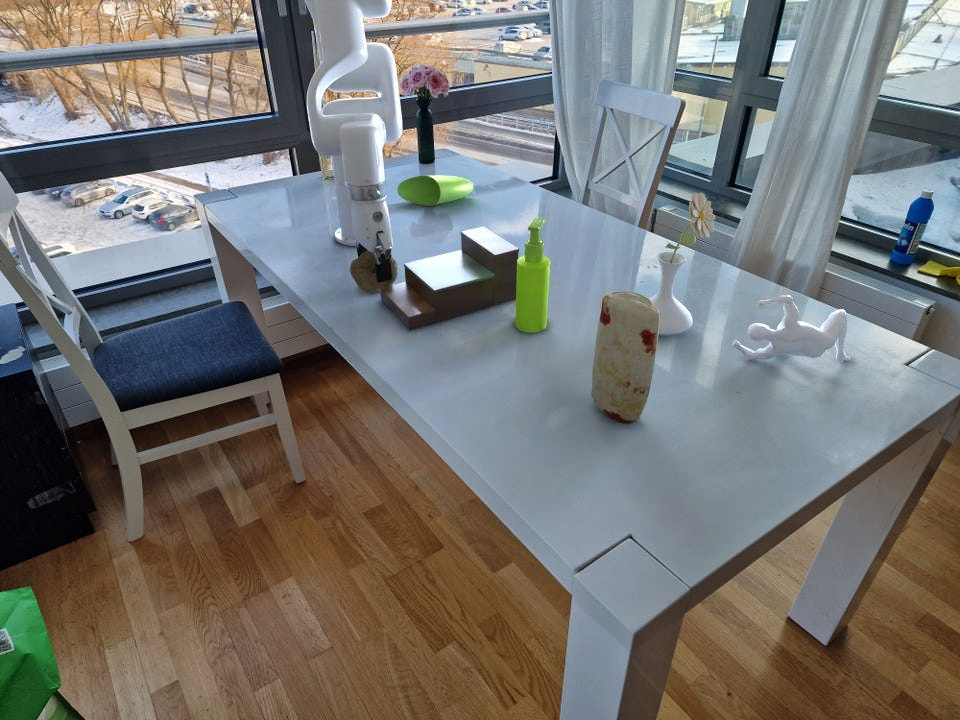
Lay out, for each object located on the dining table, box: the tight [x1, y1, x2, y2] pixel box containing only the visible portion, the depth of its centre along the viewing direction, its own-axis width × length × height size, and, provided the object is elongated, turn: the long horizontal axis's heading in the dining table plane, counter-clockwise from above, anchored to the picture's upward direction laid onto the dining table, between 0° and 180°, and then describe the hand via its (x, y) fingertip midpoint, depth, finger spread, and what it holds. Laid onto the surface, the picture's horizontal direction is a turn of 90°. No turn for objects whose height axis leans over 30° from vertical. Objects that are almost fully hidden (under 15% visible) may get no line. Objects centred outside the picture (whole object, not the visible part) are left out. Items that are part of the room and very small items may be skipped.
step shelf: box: [379, 225, 520, 331], centre depth 124 cm, size 13×24×11 cm, turn 121°
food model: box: [590, 291, 660, 425], centre depth 91 cm, size 10×7×20 cm
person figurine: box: [731, 295, 852, 362], centre depth 106 cm, size 13×13×18 cm
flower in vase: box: [647, 192, 716, 336], centre depth 112 cm, size 13×11×25 cm
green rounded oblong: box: [396, 175, 474, 206], centre depth 173 cm, size 8×12×20 cm
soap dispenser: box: [514, 217, 551, 334], centre depth 114 cm, size 6×7×20 cm
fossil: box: [349, 250, 399, 294], centre depth 132 cm, size 9×4×10 cm
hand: (375, 272), depth 130 cm, fingers open, 9 cm apart
